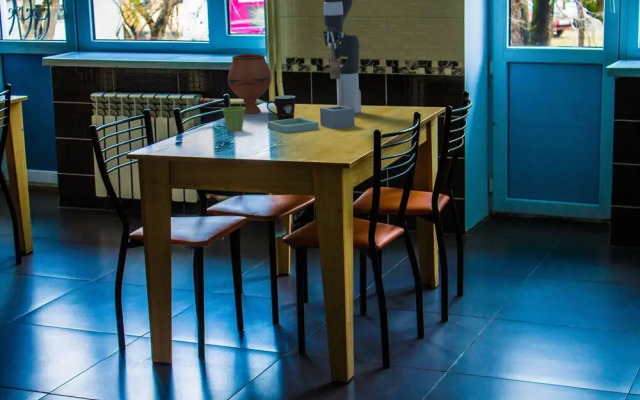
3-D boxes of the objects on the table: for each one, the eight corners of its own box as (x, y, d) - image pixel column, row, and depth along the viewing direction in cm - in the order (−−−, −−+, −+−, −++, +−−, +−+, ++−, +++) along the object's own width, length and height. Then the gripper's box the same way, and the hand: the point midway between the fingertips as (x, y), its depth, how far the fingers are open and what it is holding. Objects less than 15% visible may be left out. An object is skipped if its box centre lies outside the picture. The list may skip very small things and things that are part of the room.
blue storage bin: (341, 122, 423) (341, 105, 421) (354, 125, 414) (354, 108, 413) (320, 125, 418) (319, 108, 416) (332, 128, 410) (332, 111, 408)
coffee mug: (297, 119, 435) (296, 95, 433) (295, 122, 427) (294, 98, 425) (270, 119, 437) (268, 95, 434) (267, 123, 428) (265, 98, 426)
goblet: (243, 117, 445) (240, 59, 439) (221, 112, 460) (218, 55, 454) (281, 112, 455) (278, 55, 449) (259, 107, 470) (256, 52, 464)
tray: (300, 123, 423) (300, 117, 423) (318, 128, 410) (318, 122, 410) (267, 128, 416) (267, 121, 416) (285, 133, 403) (284, 126, 403)
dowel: (337, 77, 414) (336, 42, 411) (342, 78, 411) (341, 42, 408) (328, 78, 412) (327, 42, 409) (333, 79, 409) (332, 43, 406)
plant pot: (242, 132, 409) (241, 110, 407) (219, 132, 411) (218, 110, 409) (249, 128, 418) (248, 106, 416) (226, 128, 420) (225, 106, 418)
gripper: (351, 13, 401) (352, 58, 405) (332, 12, 413) (333, 55, 418) (334, 14, 398) (335, 59, 402) (316, 13, 410) (317, 57, 414)
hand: (334, 57), depth 410 cm, fingers closed on dowel, 4 cm apart
